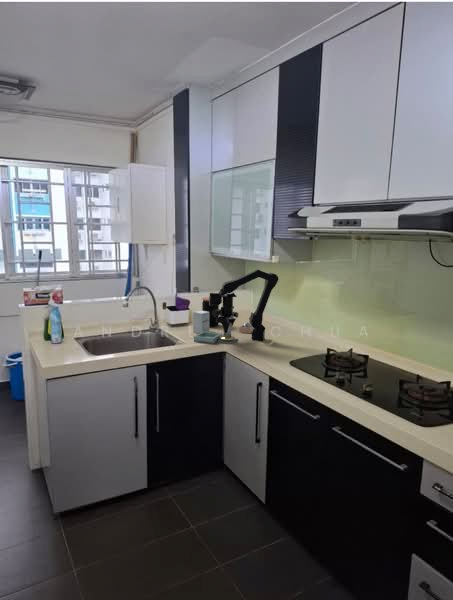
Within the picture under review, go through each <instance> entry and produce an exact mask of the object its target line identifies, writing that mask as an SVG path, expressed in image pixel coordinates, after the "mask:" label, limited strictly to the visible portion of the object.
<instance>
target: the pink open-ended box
mask: <svg viewBox="0 0 453 600" xmlns="http://www.w3.org/2000/svg"><path fill="white" fill-rule="evenodd" d="M238 328H239V329H238V333H241V334H249V335H250V334H251V335H252V332H253V329H254V328H253V327H252V325H251V324H250V328H247V327H244V323H243V324H242V325H239V327H238Z"/></svg>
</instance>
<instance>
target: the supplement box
mask: <svg viewBox="0 0 453 600" xmlns="http://www.w3.org/2000/svg"><path fill="white" fill-rule="evenodd" d="M192 332H193V333H196V334H199V333H201V332H210V327H209V312H207V311H202V310H198V311H193V312H192Z"/></svg>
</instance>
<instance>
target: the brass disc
mask: <svg viewBox="0 0 453 600" xmlns="http://www.w3.org/2000/svg"><path fill="white" fill-rule="evenodd" d="M235 338H236V337H235V336H234V335H231V338H224V335H222V336H220V339H221V340H225V341H230V340H234V339H235Z"/></svg>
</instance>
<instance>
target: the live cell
mask: <svg viewBox="0 0 453 600" xmlns="http://www.w3.org/2000/svg"><path fill="white" fill-rule="evenodd" d="M231 326H232V323H230V325H229V329H228V332H227V333H225V332H224V331H223V336H224V338H231V336H232V328H231ZM232 327H233V326H232Z"/></svg>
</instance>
